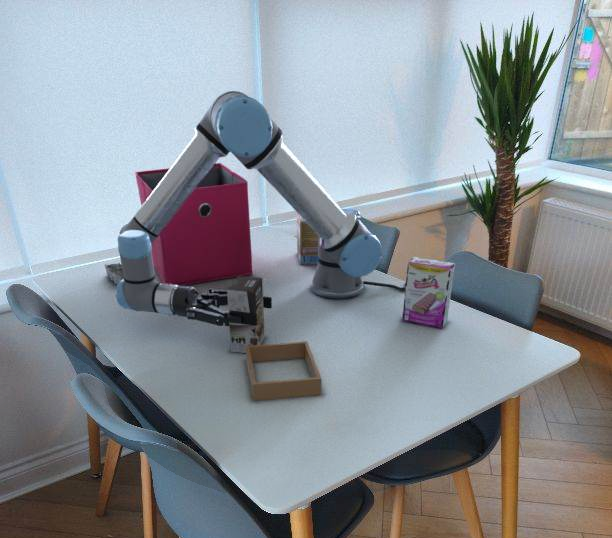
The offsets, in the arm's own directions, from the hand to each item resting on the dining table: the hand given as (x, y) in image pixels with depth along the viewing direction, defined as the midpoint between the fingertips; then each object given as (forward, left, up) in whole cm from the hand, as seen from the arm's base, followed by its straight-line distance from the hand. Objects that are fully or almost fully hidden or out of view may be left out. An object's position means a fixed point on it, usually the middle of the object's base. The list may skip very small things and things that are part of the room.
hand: (264, 311), depth 143 cm
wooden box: (-2, +15, -10) cm, 18 cm away
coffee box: (+4, -2, -10) cm, 11 cm away
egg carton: (+39, -53, -10) cm, 66 cm away
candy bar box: (-43, -7, -10) cm, 45 cm away
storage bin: (+15, -58, -10) cm, 61 cm away
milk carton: (-23, -60, -10) cm, 65 cm away
